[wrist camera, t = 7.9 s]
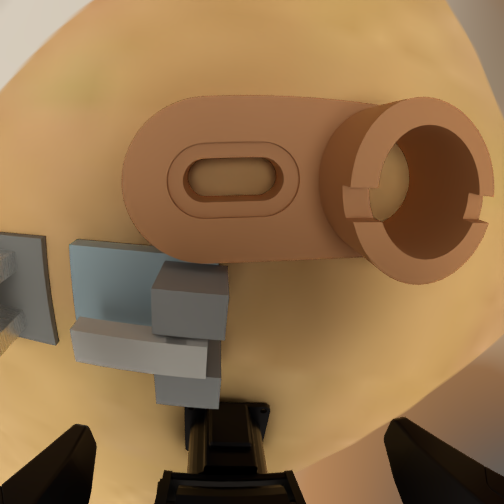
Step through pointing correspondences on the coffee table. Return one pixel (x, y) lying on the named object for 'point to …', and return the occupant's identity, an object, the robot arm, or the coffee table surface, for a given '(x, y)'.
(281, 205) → the bracket
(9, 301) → the mat
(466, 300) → the coffee table surface
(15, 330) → the wood-topped grey block
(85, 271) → the vise
